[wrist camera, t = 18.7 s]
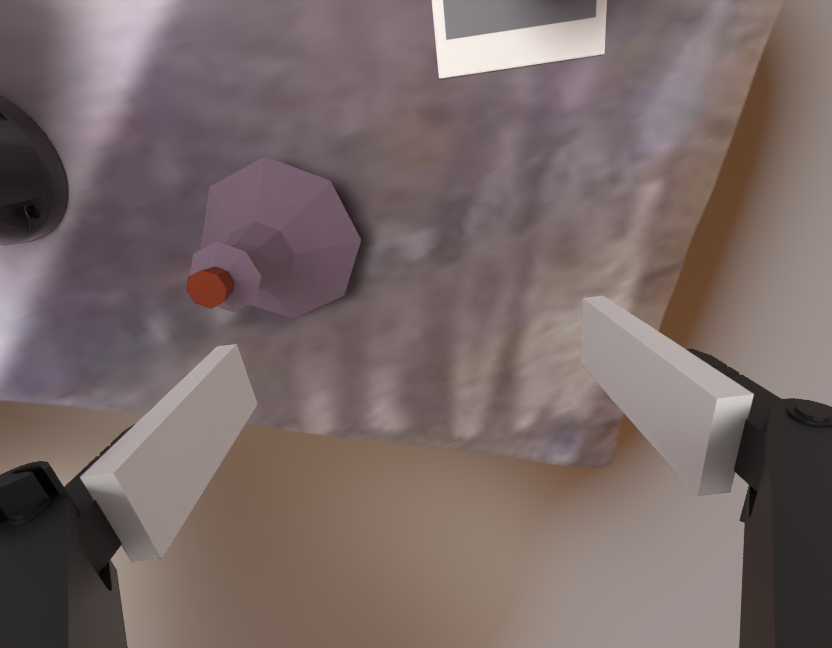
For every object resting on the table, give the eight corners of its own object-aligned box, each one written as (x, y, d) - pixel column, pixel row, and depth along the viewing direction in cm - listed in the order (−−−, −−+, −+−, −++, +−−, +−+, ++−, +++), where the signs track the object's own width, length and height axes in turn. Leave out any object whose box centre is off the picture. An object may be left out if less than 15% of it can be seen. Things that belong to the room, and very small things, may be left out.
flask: (235, 309, 46) (120, 404, 28) (200, 160, 40) (21, 155, 21) (371, 302, 46) (348, 393, 28) (358, 153, 40) (316, 141, 21)
